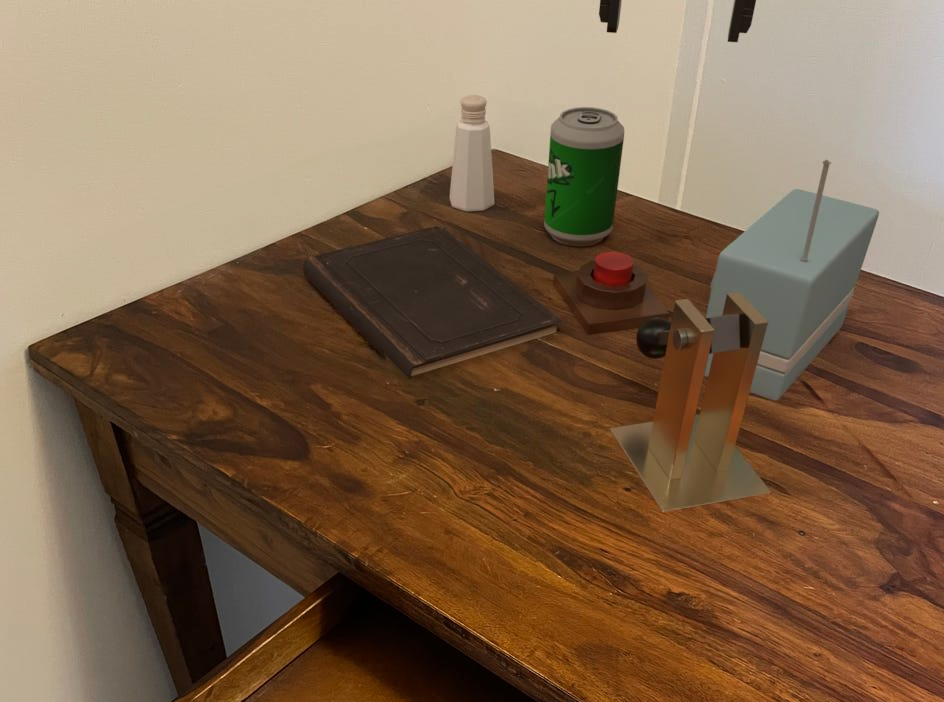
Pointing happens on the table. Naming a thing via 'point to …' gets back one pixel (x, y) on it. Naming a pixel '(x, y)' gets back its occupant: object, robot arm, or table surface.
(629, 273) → the stop button
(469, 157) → the pepper shaker
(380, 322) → the hardcover book
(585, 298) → the brown button base
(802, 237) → the radio
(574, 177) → the soda can
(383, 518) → the table surface
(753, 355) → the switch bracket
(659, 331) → the switch lever
